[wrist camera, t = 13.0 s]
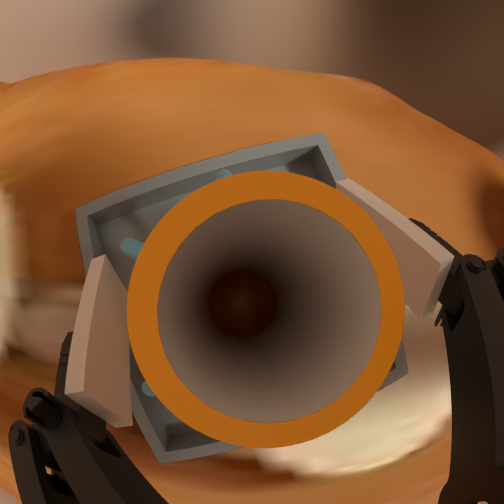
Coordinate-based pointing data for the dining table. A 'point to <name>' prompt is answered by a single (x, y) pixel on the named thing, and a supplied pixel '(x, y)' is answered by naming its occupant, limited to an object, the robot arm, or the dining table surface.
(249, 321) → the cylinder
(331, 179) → the tray
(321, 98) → the dining table surface
